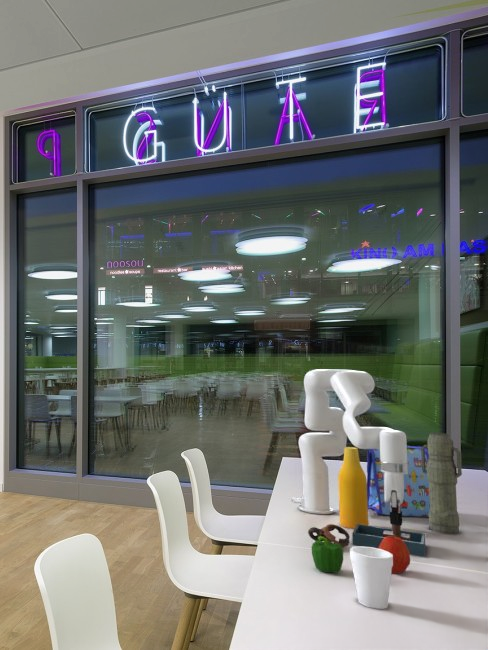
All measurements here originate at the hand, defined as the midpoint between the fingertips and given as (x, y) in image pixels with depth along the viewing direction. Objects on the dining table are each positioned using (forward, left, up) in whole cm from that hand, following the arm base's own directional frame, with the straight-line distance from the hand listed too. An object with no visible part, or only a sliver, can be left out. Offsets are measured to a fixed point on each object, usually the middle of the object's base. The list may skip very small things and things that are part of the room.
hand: (396, 523), depth 199 cm
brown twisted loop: (-18, -12, -8) cm, 24 cm away
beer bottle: (-14, +21, -8) cm, 26 cm away
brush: (0, 0, -7) cm, 7 cm away
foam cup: (-2, -57, -8) cm, 58 cm away
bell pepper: (-15, -37, -8) cm, 41 cm away
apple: (+1, -26, -8) cm, 28 cm away
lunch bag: (-1, +55, -8) cm, 55 cm away
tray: (-2, +2, -8) cm, 9 cm away
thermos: (+13, +35, -8) cm, 38 cm away
